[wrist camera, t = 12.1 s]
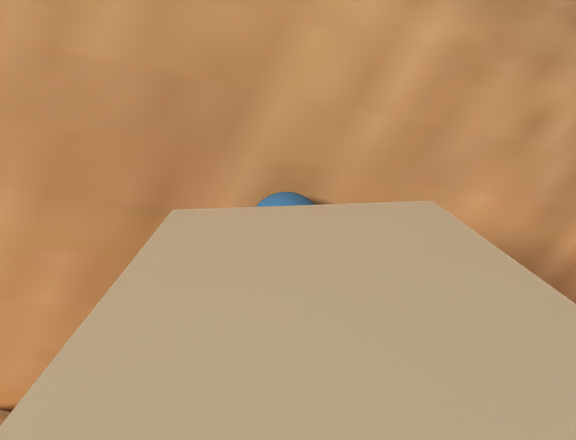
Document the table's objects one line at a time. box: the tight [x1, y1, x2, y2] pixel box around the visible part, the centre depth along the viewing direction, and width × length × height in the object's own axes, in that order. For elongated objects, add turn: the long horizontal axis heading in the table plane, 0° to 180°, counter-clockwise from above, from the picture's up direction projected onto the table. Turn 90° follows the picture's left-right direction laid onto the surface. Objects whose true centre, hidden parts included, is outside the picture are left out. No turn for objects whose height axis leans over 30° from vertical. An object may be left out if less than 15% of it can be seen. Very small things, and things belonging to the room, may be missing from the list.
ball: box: [256, 192, 315, 207], centre depth 24 cm, size 5×5×5 cm
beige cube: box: [0, 201, 576, 440], centre depth 8 cm, size 8×8×9 cm
